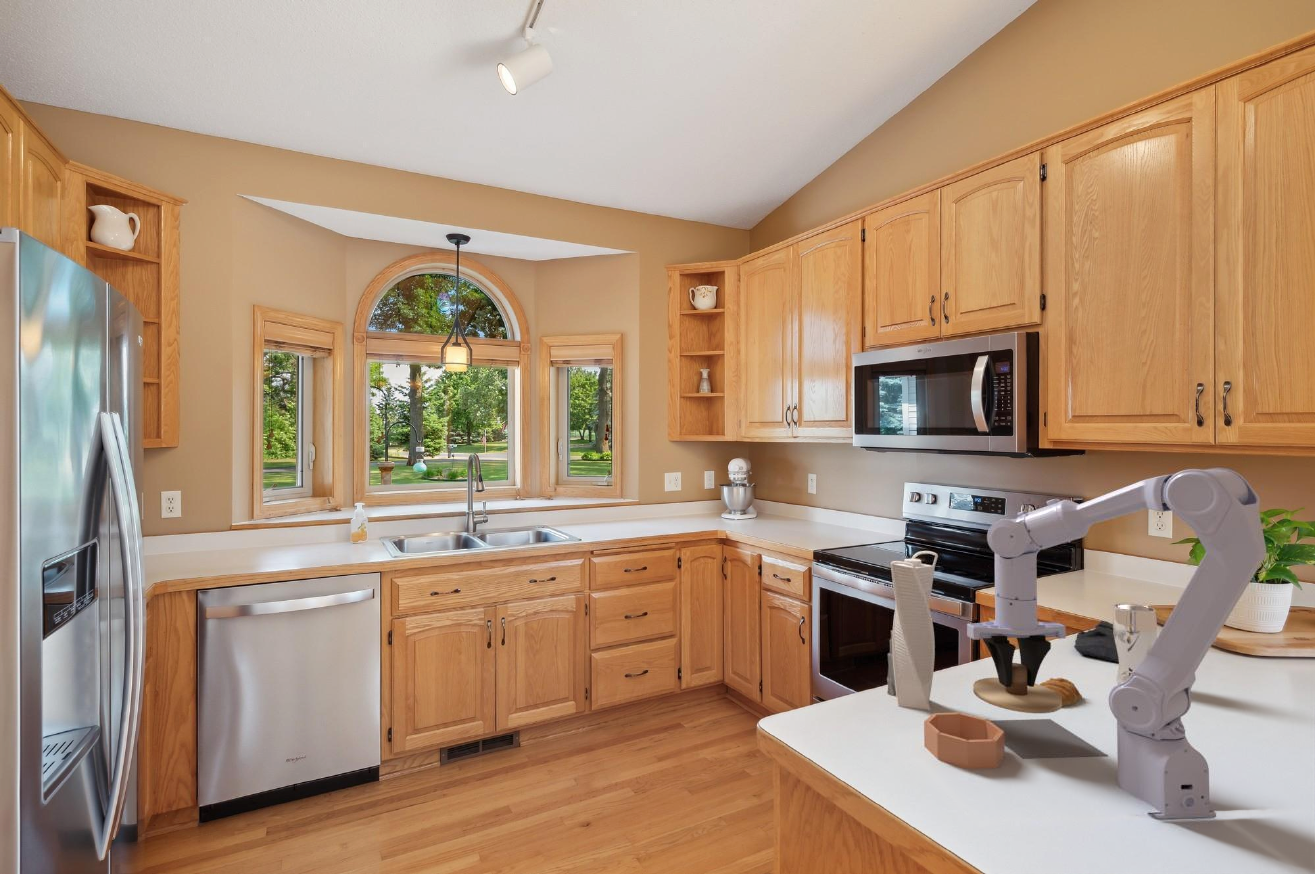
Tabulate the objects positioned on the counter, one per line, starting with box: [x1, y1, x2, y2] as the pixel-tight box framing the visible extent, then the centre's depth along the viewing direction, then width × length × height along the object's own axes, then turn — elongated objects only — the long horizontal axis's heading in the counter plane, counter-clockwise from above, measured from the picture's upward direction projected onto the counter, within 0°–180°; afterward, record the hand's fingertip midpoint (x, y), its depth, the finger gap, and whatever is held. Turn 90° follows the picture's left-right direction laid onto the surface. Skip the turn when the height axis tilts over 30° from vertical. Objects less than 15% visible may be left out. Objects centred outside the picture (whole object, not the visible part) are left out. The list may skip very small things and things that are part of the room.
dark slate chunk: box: [1073, 620, 1119, 663], centre depth 148 cm, size 15×22×5 cm
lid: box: [972, 662, 1063, 714], centre depth 100 cm, size 12×12×5 cm
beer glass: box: [1112, 602, 1158, 684], centre depth 126 cm, size 7×7×15 cm
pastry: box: [1039, 677, 1083, 708], centre depth 117 cm, size 9×7×4 cm
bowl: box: [923, 712, 1005, 770], centre depth 97 cm, size 10×10×4 cm
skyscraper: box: [886, 550, 939, 711], centre depth 116 cm, size 8×8×28 cm
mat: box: [988, 718, 1109, 760], centre depth 101 cm, size 13×13×1 cm
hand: (1016, 684), depth 100 cm, fingers closed on lid, 3 cm apart
